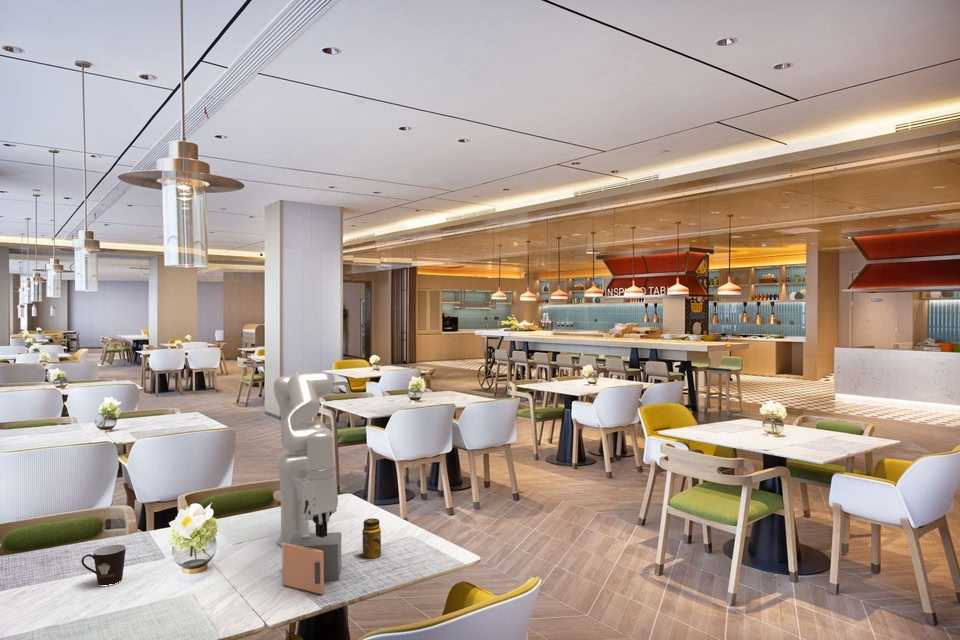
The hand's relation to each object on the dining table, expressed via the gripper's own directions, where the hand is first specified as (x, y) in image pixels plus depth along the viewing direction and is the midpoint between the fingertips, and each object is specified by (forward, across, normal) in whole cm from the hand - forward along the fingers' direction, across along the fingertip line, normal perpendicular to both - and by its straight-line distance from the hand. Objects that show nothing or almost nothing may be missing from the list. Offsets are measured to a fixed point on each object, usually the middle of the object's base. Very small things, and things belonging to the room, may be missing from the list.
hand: (321, 536), depth 183 cm
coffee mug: (+15, +36, -58) cm, 70 cm away
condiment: (+15, -25, -7) cm, 30 cm away
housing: (+15, -5, -10) cm, 18 cm away
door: (+15, +5, -4) cm, 16 cm away
